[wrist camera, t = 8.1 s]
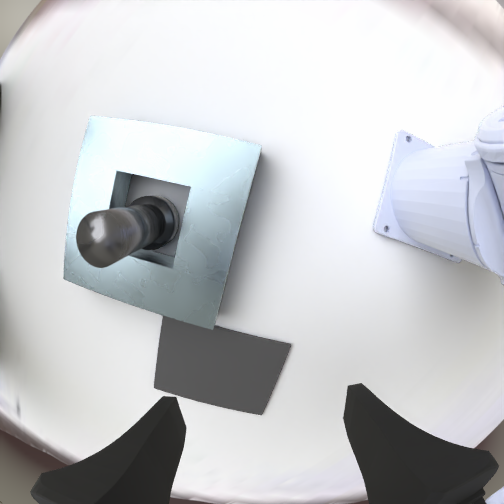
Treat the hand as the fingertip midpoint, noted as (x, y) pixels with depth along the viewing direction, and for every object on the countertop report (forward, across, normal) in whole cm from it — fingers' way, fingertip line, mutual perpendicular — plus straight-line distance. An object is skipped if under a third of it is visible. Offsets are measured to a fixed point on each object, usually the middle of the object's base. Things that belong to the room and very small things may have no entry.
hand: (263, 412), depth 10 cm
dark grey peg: (+10, +7, -7) cm, 15 cm away
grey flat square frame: (+10, +7, -8) cm, 15 cm away
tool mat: (+10, +4, +5) cm, 12 cm away
